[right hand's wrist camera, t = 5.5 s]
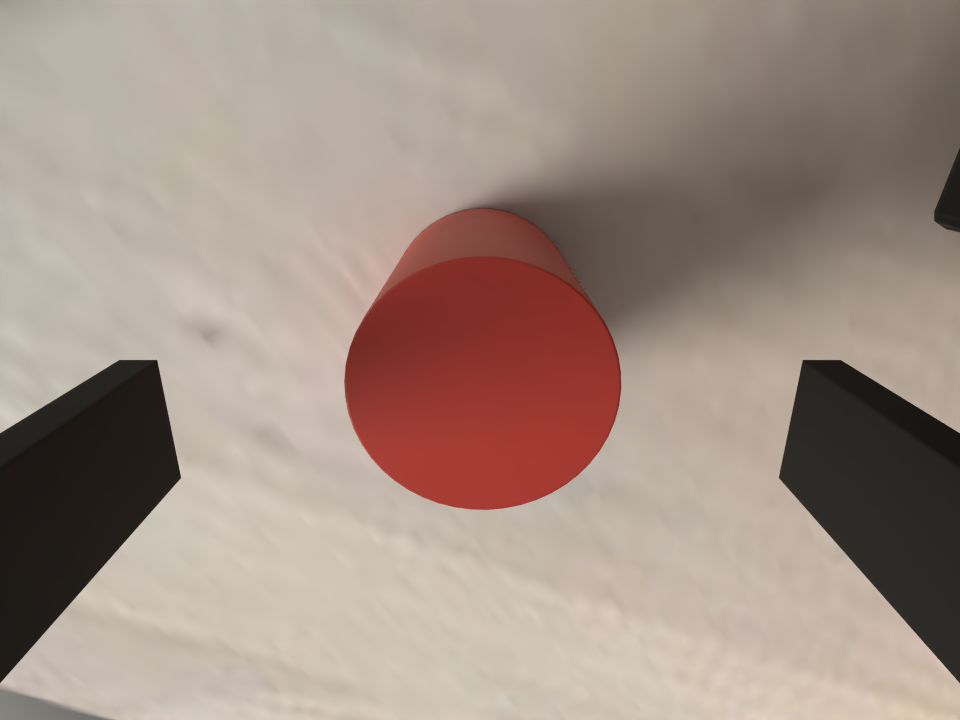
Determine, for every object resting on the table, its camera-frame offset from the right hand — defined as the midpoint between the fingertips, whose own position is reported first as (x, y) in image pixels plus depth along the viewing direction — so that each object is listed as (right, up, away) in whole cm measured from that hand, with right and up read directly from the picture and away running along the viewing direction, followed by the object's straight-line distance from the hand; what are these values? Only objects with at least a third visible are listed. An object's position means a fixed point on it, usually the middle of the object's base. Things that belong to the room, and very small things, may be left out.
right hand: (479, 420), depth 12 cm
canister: (0, +3, +8) cm, 9 cm away
